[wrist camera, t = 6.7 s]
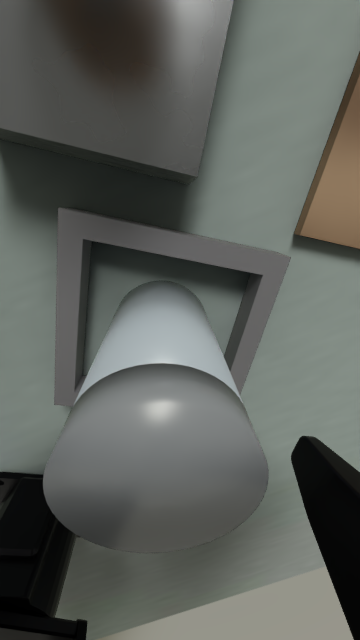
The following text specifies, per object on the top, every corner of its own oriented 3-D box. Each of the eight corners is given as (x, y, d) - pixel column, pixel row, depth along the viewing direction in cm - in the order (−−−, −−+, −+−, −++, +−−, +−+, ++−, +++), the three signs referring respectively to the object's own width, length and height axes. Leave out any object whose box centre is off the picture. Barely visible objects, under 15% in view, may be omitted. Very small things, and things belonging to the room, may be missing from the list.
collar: (223, 406, 17) (229, 424, 15) (64, 386, 15) (54, 404, 14) (277, 252, 13) (291, 257, 11) (70, 207, 11) (58, 207, 10)
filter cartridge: (195, 369, 15) (233, 556, 7) (110, 357, 15) (43, 549, 6) (216, 290, 13) (302, 420, 5) (120, 272, 13) (42, 389, 4)
